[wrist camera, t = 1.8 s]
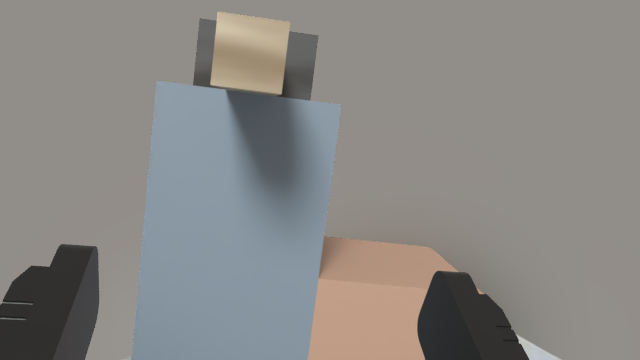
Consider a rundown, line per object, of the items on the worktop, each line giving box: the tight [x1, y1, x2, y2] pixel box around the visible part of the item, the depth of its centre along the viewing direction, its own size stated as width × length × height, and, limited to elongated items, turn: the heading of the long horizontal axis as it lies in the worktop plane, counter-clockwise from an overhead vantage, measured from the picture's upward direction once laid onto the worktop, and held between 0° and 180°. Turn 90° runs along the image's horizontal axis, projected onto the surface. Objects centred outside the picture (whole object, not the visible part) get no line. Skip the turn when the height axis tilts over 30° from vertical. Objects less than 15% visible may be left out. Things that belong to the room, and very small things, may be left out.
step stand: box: [132, 81, 483, 360], centre depth 42 cm, size 22×12×32 cm, turn 96°
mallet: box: [193, 12, 318, 101], centre depth 34 cm, size 21×8×4 cm, turn 6°
